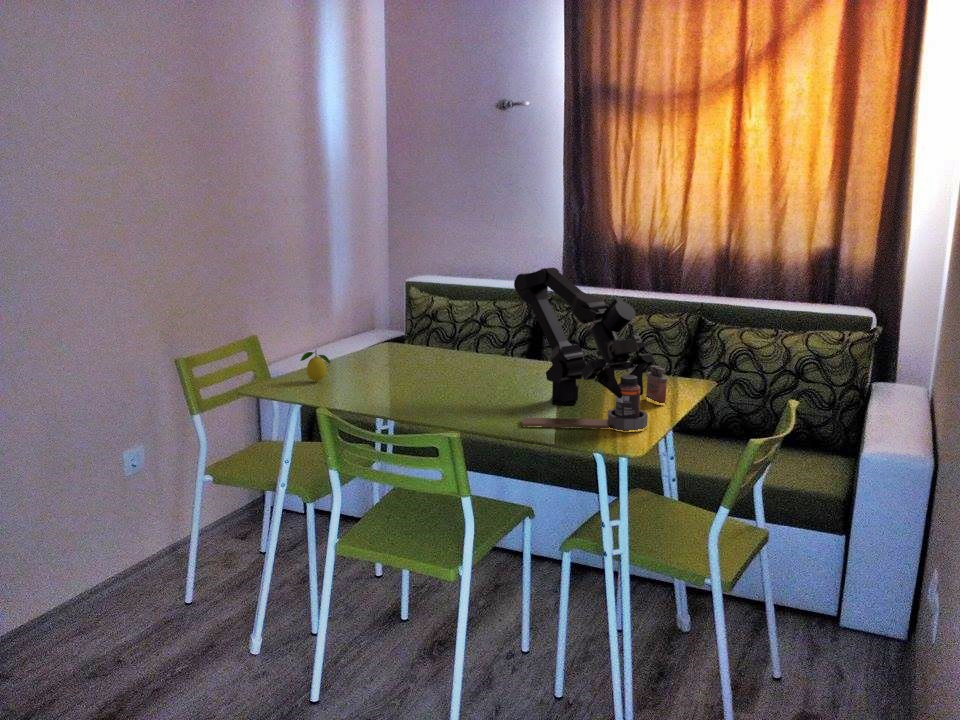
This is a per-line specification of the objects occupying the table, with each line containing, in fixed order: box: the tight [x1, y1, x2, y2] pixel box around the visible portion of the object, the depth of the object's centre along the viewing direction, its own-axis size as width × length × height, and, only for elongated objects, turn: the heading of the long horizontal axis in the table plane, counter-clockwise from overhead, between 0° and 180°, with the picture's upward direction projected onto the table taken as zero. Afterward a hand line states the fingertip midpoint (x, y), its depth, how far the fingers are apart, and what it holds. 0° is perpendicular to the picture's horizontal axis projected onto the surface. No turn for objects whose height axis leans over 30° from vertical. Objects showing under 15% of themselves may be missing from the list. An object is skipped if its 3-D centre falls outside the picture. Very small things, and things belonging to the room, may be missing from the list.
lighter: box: [645, 365, 669, 403], centre depth 250 cm, size 8×3×10 cm, turn 21°
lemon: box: [299, 350, 331, 383], centre depth 266 cm, size 7×6×10 cm
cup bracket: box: [521, 408, 649, 431], centre depth 229 cm, size 31×10×4 cm, turn 87°
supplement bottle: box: [614, 374, 641, 418], centre depth 228 cm, size 6×6×11 cm
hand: (631, 396), depth 226 cm, fingers closed on supplement bottle, 6 cm apart
